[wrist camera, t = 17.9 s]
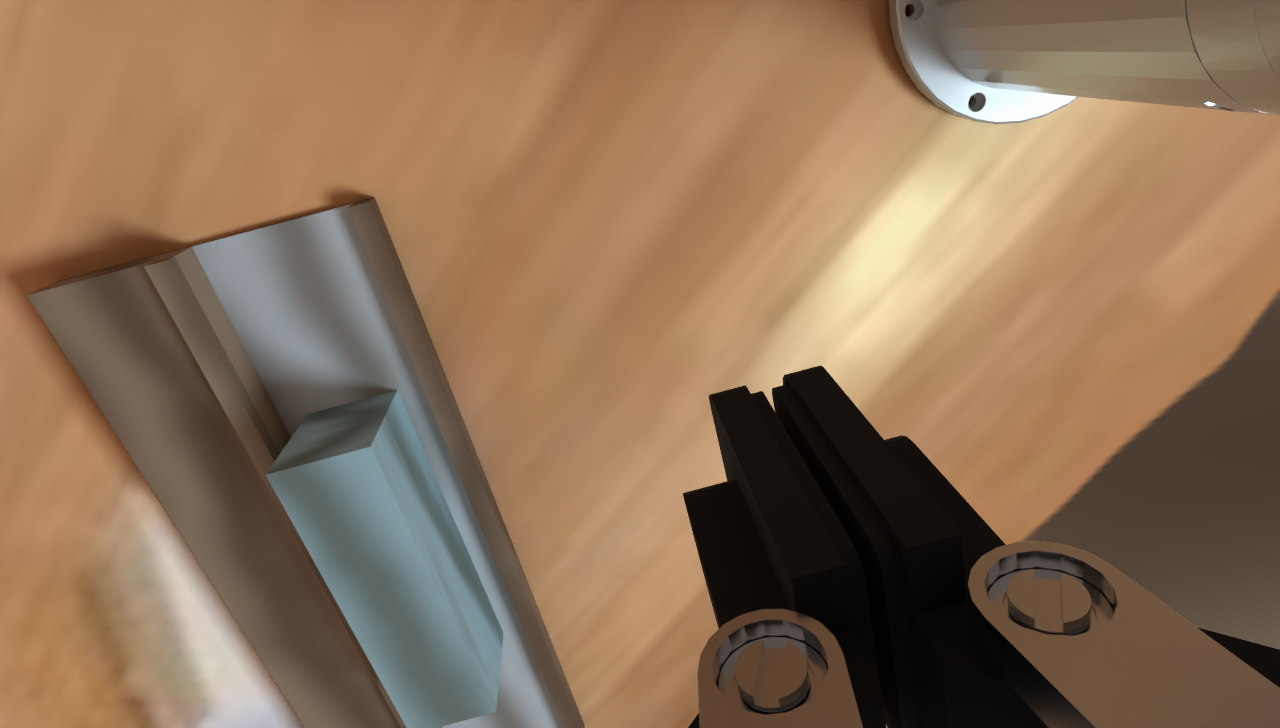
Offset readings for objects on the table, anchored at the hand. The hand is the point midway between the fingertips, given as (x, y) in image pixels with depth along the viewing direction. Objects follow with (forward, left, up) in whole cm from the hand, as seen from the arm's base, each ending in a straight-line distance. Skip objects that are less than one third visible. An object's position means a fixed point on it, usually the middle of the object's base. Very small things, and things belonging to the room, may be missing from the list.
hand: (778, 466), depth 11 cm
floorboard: (+20, +17, -27) cm, 38 cm away
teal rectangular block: (+17, +17, -27) cm, 36 cm away
